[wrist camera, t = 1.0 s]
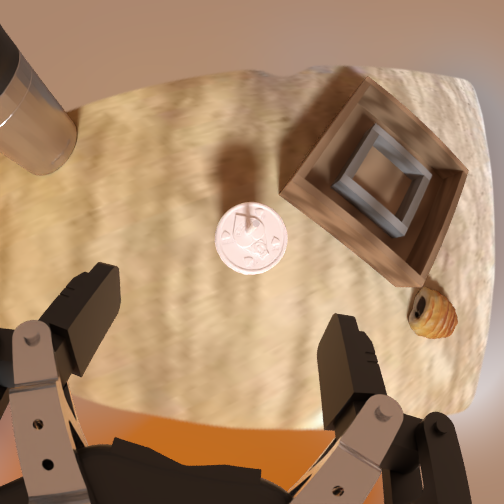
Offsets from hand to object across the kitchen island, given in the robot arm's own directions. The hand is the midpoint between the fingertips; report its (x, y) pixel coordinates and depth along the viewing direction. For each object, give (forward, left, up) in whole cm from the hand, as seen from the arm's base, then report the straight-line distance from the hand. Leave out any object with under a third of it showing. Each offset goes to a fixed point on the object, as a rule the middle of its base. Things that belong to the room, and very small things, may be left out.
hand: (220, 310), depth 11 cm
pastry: (+28, +14, -25) cm, 40 cm away
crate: (+10, +24, -25) cm, 36 cm away
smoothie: (0, +6, -25) cm, 26 cm away
